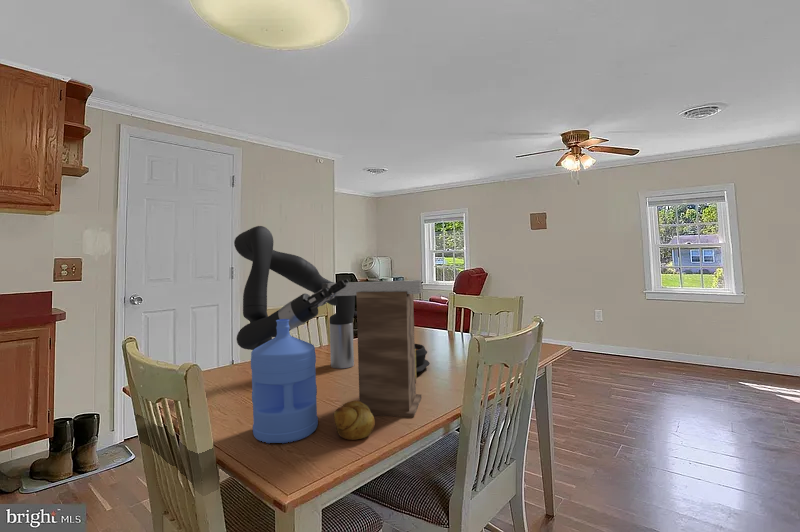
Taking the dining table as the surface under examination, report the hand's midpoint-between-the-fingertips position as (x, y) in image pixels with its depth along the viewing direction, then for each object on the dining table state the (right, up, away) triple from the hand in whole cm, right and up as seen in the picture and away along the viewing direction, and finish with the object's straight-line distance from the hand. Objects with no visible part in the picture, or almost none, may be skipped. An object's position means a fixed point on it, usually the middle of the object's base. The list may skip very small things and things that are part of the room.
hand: (346, 282), depth 114 cm
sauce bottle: (+18, -35, +21) cm, 45 cm away
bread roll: (+4, -37, -15) cm, 40 cm away
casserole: (+18, -35, +40) cm, 56 cm away
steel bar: (+7, -3, -1) cm, 8 cm away
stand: (+12, -36, +2) cm, 38 cm away
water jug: (-13, -37, -14) cm, 42 cm away
